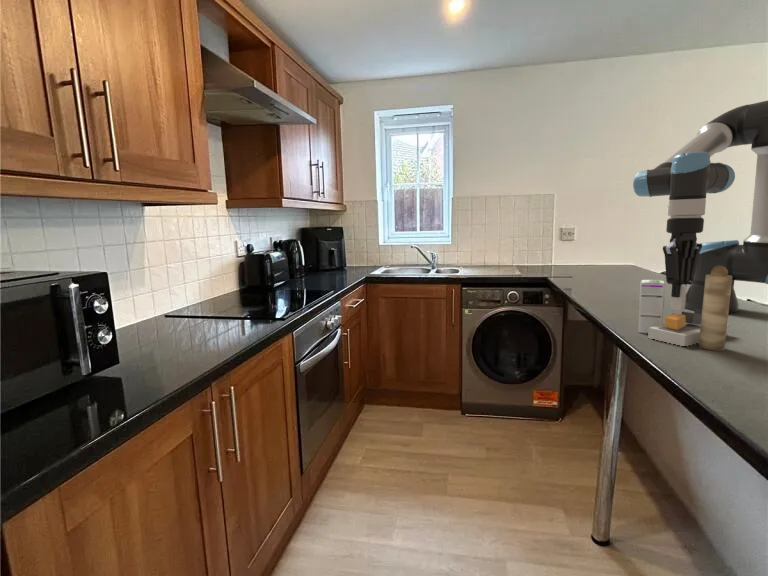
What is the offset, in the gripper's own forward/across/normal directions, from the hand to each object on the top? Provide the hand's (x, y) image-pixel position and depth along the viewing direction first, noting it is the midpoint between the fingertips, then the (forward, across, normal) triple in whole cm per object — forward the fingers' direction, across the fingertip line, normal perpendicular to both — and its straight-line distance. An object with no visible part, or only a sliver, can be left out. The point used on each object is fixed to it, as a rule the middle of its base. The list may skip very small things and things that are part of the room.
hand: (677, 309), depth 108 cm
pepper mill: (+8, -1, +8) cm, 12 cm away
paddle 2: (+5, -12, 0) cm, 13 cm away
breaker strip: (+8, -6, 0) cm, 10 cm away
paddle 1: (+5, 0, 0) cm, 5 cm away
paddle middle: (+5, -6, 0) cm, 8 cm away
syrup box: (+9, -3, -8) cm, 13 cm away
